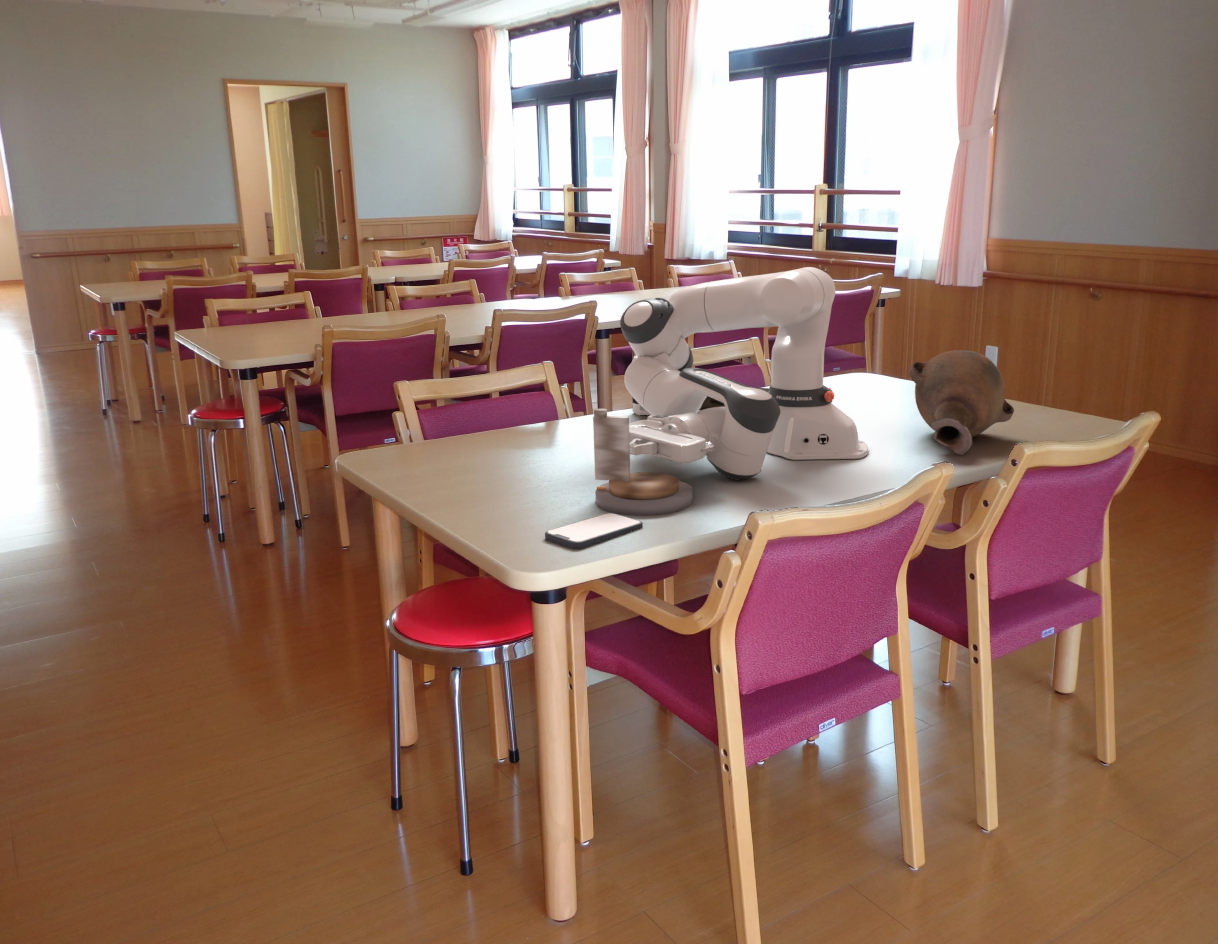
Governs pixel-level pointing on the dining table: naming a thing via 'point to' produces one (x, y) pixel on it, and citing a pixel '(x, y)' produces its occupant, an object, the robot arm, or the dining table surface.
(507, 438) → the dining table surface
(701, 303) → the robot arm
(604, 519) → the smartphone
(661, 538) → the dining table surface
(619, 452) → the dial
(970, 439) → the jug
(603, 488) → the dial base
